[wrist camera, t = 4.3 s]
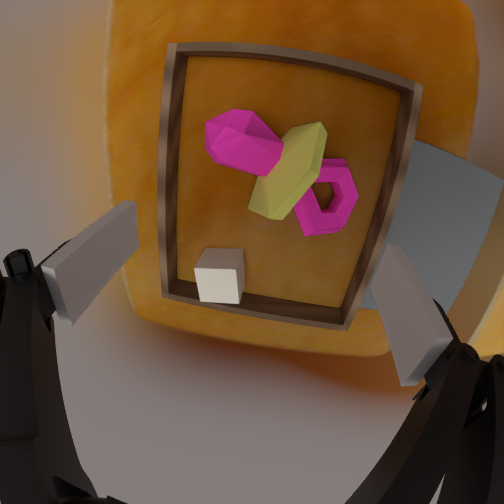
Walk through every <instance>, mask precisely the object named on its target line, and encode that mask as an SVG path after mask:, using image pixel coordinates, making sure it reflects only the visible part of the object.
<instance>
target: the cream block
mask: <svg viewBox="0 0 504 504" xmlns="http://www.w3.org/2000/svg"><path fill="white" fill-rule="evenodd" d="M194 271H195V276H196V282H197V287H198V292H199V297H200V301H201V302H215V303H231V304H239V303H240V299H241V296H242V292H243V288H244V284H245V269H244V256H243V249H231V248H205V250H204V251H203V253H202V255H201V257H200V258H199V260H198V262H197V264H196V265H195V267H194Z"/></svg>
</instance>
